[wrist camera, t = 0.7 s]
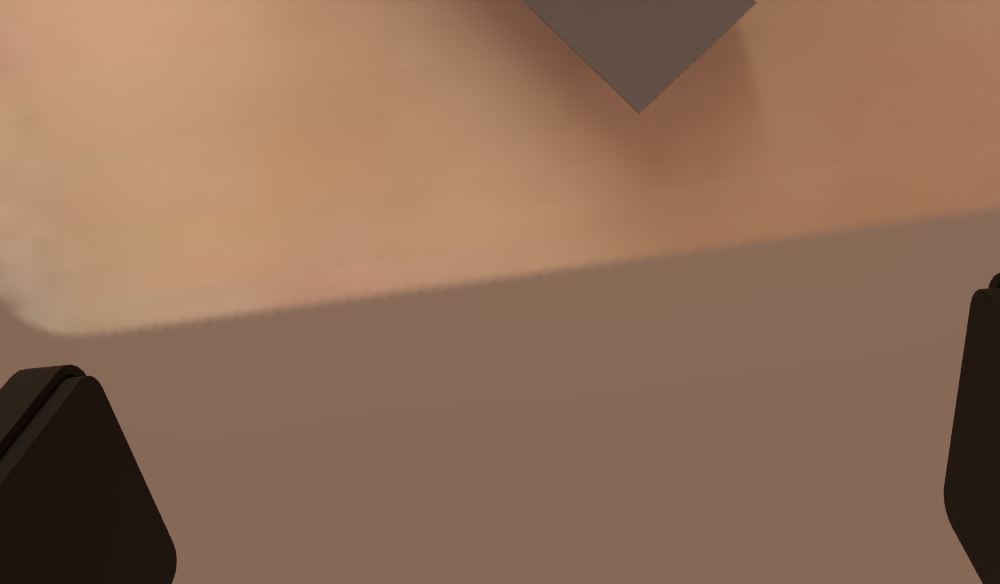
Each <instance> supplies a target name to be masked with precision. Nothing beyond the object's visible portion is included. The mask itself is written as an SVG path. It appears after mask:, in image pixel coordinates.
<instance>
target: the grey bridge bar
mask: <svg viewBox="0 0 1000 584" xmlns="http://www.w3.org/2000/svg"><path fill="white" fill-rule="evenodd" d="M523 1H524V2H525V3H526V4H527V5H528V6H529V7H530V8H531V9H532V10H533V11H534V12H535V13H536V14H537V15H538V16H539V17H540V18H541V19H542V20H543V21H544V22H545V23H546V24H547V25H548V26H549V27H550V28H551V29H552V30H553V31H554V32H555V33H556V34H557V35H558V36H559V37H560V38H561V39H563V40H564V41H565V42H566V43H567V44H568V45H569V46H570V47H571V48H572V49H573V50H574V51H575V52H576V53H577V54H578V55H579V56H580V57H581V58H582V59H583V60H584V61H585V62H586V63H587V64H588V65H589V66H590V67H591V68H592V69H593V70H594V71H595V72H596V73H597V74H598V75H599V76H600V77H601V78H602V79H603V80H605V81H606V82H607V83H608V84H609V85H610V86H611V87H612V88H613V89H614V90H615V91H616V92H617V93H618V94H619V95H620V96H621V97H622V98H623V99H624V100H625V101H626V102H627V103H628V104H629V105H630V106H631V107H632V108H633V109H634V110H635V111H636V112H637V113H638V114H639V113H640V112H641V111H642V110H644V109H645V108H646V107H647V106H648V105H649V104H650V103H651V102H652V101H653V100H654V99H655V98H656V97H657V96H658V95H659V94H660V93H662V92H663V91H664V90H665V89H666V88H667V87H668V86H669V85H670V84H671V83H672V82H673V81H674V80H675V79H676V78H677V77H678V76H679V75H681V74H682V73H683V72H684V71H685V70H686V69H687V68H688V67H689V66H690V65H691V64H692V63H693V62H694V61H695V60H696V59H697V58H699V57H700V56H701V55H702V54H703V53H704V52H705V51H706V50H707V49H708V48H709V47H710V46H711V45H712V44H713V43H714V42H715V41H716V40H718V39H719V38H720V37H721V36H722V35H723V34H724V33H725V32H726V31H727V30H728V29H729V28H730V27H731V26H732V25H733V24H734V23H736V22H737V21H738V20H739V19H740V18H741V17H742V16H743V15H744V14H745V13H746V12H747V11H748V10H749V9H750V8H751V7H752V6H754V5H755V4H756V2H755V1H754V0H523Z"/></svg>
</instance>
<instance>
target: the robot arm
mask: <svg viewBox="0 0 1000 584" xmlns="http://www.w3.org/2000/svg"><path fill="white" fill-rule="evenodd" d="M944 503H945V508H946V512H947V516H948V519H949V521H950V523H951V526H952V528H953V529H954V531H955V533H956V535H957V537H958V539H959V541H960V542H961V544H962V546H963V548H964V550H965V552H966V554H967V555H968V557H969V559H970V561H971V563H972V564H973V566H974V568H975V570H976V572H977V574H978V576H979V577H980V579H981V581H982V583H983V584H1000V273H998V274H997V275H995V276H994V277H993V279H992V280H991V282H990V284H989V288H988V289H979V290H977V291H976V292H975V294H974V295H973V297H972V301H971V304H970V311H969V318H968V325H967V332H966V339H965V346H964V353H963V359H962V367H961V373H960V380H959V388H958V394H957V401H956V408H955V415H954V422H953V429H952V435H951V443H950V449H949V457H948V463H947V470H946V477H945V484H944ZM176 559H177V557H176V550H175V547H174V544H173V542H172V539H171V537H170V535H169V533H168V531H167V529H166V526H165V524H164V522H163V520H162V518H161V515H160V513H159V511H158V509H157V506H156V504H155V502H154V500H153V498H152V496H151V493H150V491H149V489H148V487H147V485H146V482H145V480H144V478H143V476H142V473H141V472H140V469H139V467H138V465H137V463H136V460H135V458H134V456H133V454H132V452H131V450H130V447H129V445H128V443H127V441H126V439H125V436H124V434H123V432H122V430H121V428H120V425H119V423H118V421H117V419H116V417H115V414H114V412H113V410H112V408H111V405H110V403H109V401H108V399H107V397H106V394H105V392H104V390H103V388H102V386H101V384H100V383H99V381H98V380H97V379H95V378H94V377H92V376H86V375H85V373H84V372H83V371H82V370H81V369H80V368H78V367H77V366H73V365H62V366H52V367H41V368H31V369H24V370H20V371H18V372H17V373H15V374H14V375H13V376H12V377H11V378H10V379H9V380H8V381H7V382H6V383H5V385H4V386H3V387H2V388H1V389H0V584H172V581H173V578H174V575H175V572H176V561H177V560H176Z"/></svg>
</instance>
